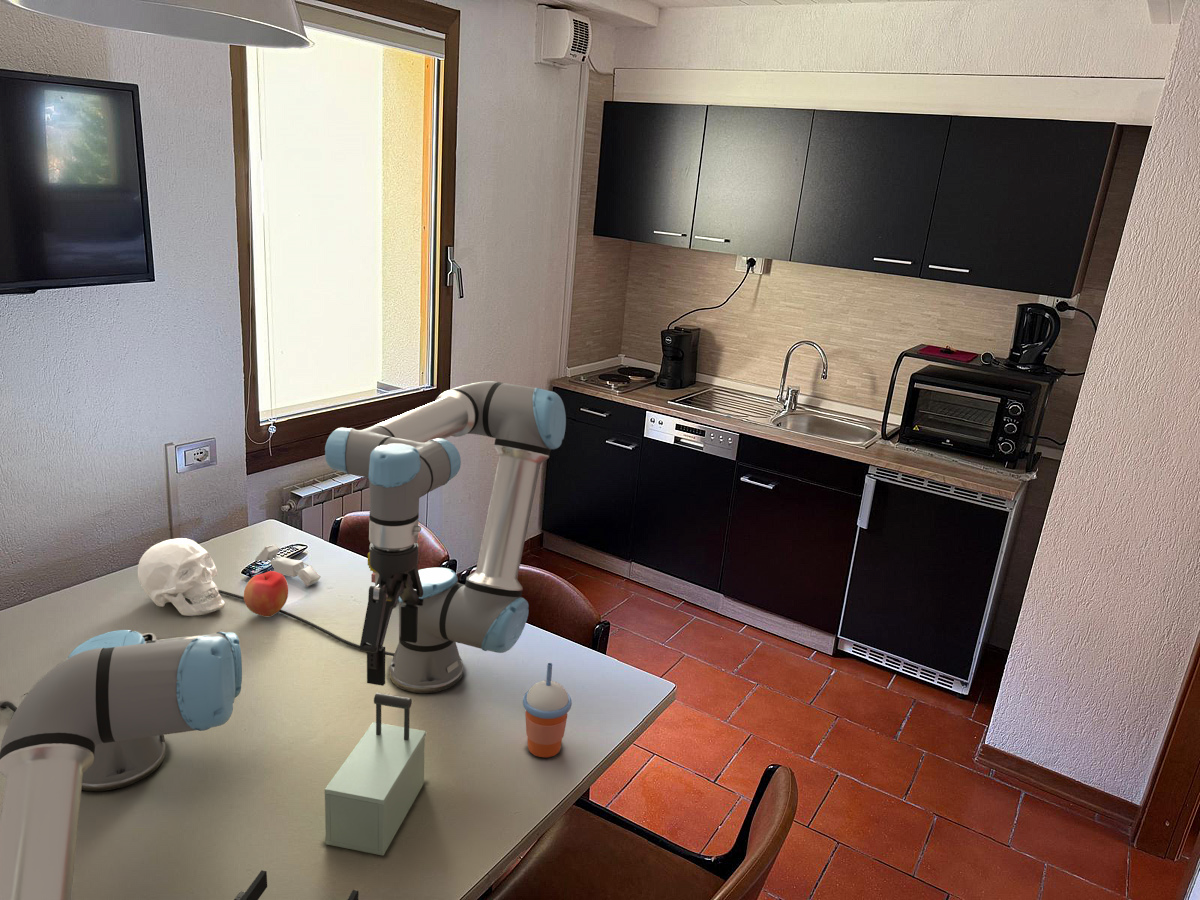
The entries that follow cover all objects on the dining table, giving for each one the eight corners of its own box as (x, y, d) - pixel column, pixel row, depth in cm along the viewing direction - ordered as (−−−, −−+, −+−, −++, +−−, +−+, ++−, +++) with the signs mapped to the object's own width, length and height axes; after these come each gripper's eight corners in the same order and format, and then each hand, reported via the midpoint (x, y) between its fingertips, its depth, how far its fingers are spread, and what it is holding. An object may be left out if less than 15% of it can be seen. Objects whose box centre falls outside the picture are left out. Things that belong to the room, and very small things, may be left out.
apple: (273, 600, 207) (272, 562, 204) (297, 613, 202) (296, 575, 199) (237, 614, 200) (234, 575, 197) (261, 628, 194) (259, 588, 191)
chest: (372, 773, 151) (372, 727, 148) (423, 783, 150) (424, 737, 147) (325, 844, 135) (324, 793, 132) (383, 855, 133) (383, 805, 130)
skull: (204, 625, 194) (201, 560, 189) (125, 605, 199) (121, 542, 195) (243, 602, 206) (242, 541, 202) (168, 584, 212) (165, 524, 207)
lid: (373, 725, 149) (373, 681, 146) (426, 734, 147) (426, 691, 145) (324, 793, 132) (323, 745, 129) (383, 804, 130) (383, 756, 128)
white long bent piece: (253, 565, 223) (254, 542, 221) (265, 560, 226) (266, 537, 224) (309, 593, 215) (310, 569, 213) (320, 588, 218) (321, 564, 216)
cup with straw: (561, 767, 156) (568, 681, 151) (513, 757, 158) (518, 672, 153) (573, 737, 165) (579, 655, 160) (527, 729, 167) (532, 647, 161)
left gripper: (123, 1029, 101) (228, 891, 121) (320, 1077, 98) (394, 927, 118) (118, 980, 99) (225, 848, 119) (318, 1028, 96) (395, 884, 116)
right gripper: (384, 579, 122) (384, 707, 128) (443, 517, 146) (441, 628, 152) (335, 571, 123) (337, 699, 129) (402, 511, 147) (401, 621, 153)
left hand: (310, 887), depth 119 cm, fingers open, 13 cm apart
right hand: (393, 661), depth 141 cm, fingers open, 13 cm apart
